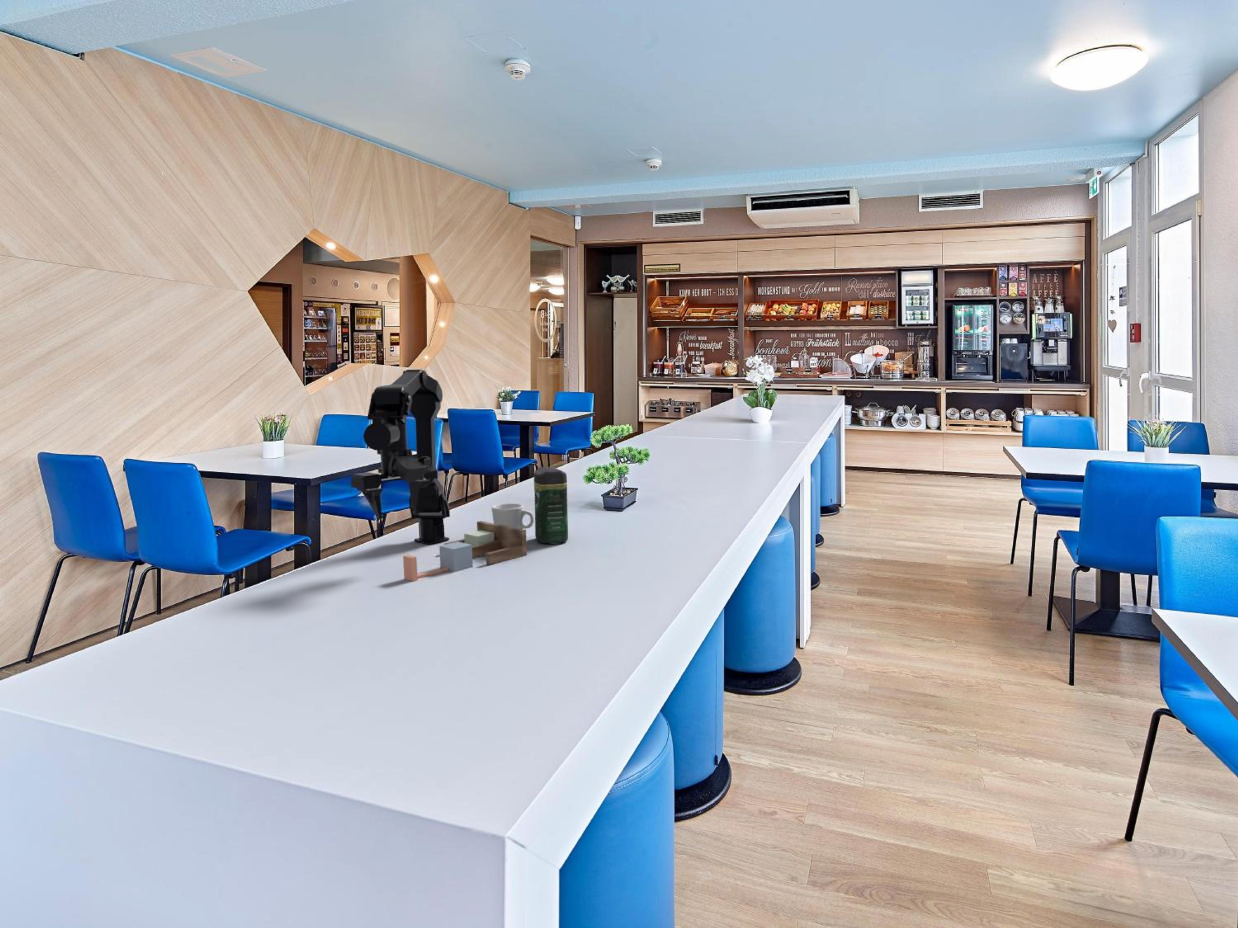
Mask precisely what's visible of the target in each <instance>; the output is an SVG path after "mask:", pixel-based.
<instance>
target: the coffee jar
mask: <svg viewBox="0 0 1238 928" xmlns="http://www.w3.org/2000/svg"><path fill="white" fill-rule="evenodd" d="M533 486H534V487H533V489H534V490H533V491H534V531H535V532H534V535H535V539H536V541H538V542H539V543H541V544H551V545H557V544H561V543H563V542H564V543H565V542H567V541H568V539H569V524H568V523H569V522H568V521H569V520H568V519H569V518H568V517H569V516H568V515H569V514H568V478H567V473H566V472H565V471H563V470H562V469H559V468H557V467H555V466H541V467H539V468H537V469H536V470H535V471H534V474H533Z"/></svg>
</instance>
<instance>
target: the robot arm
mask: <svg viewBox="0 0 1238 928" xmlns="http://www.w3.org/2000/svg"><path fill="white" fill-rule="evenodd" d="M442 389H443V388H442V387H441V385H440V383H439V380H436V379H435V378H433V377H432V376H429V375H428V373H427V370H424V369H422V368H421V369H413V368H412V369H406V370H403V371H402V374H401V375H400V376H399V377H397V379H396V380H395V381H394V382H392V383H391V384H387V385H381V386H380V385H379V386H377V387H376V388H374V390H373V392H372V394H371V397H370V398H371V399H370V402H369V406H368V407H369V408H368V411H367V417H366V419H367V420H368V421H369V420H371V423H370V424H369V425H367V426H366V428H365V430H364V431H363V436H362V437H363V441H364V444H365V445H366V446H367V447H368V448H369V449H371V450H373V451H376V454H377V455H380V465H381V467H379V468H378V469H377V473H373V472H370V471H369V472H368V471H367V472H360V473H353V474H352V476H351V478H350V488H353V489H354V488H355V489H356V491H359V492H361V494H362V495H363V496H364V497H365V499H366V501H367V502H368V504H369V506H370V508H371V509H372V512H373V513H374V515H375V517H376V518H377V519H378V520H381V519H382V515H383V513H382V510H383V509H382V501H381V500H382V499H381V498H382V497H381V495H382V493H383V491H384V488H380V487H381V486H382V484H383V483H384V484H385V483H389V482H396V481H397V482H398V481H403V482H405V483H408V489H409V499H408V504H409V511H410V515H411V519H413V520H414V519H418V520H417V521H418V537H417V538H414V540H413V541H414V542H418V543H422V544H425V545H433V544H437V543H441V542H445V541H449V540H450V537H447V536H445V523H444V519H447V518H450V517H451V516H450V515H451V514H450V513H451V510H450V505H449V502H448V500H447V497H446V494H444V493H445V492H444V487H443V485H442V483H441V482H440V480H439V471H438V468H437V463H436V462H437V460H436V459H437V458H436V457H437V456H436V455H437V454H436V429H435V425H436V423H435V419H436V418H437V416H438V413H439V412H440V411H441V408H442V405H441V404H442V402H443V397H444V396H443V395H444V394H443V390H442ZM410 414H411V415H412V417H413V418H414V421H415V448H416V449H415V451H416V458H414V456H413V451H412V449H411V448H408V435H407V433H408V432H407V431H408V430H407V421H408V420H407V417H408V416H409V415H410Z"/></svg>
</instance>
